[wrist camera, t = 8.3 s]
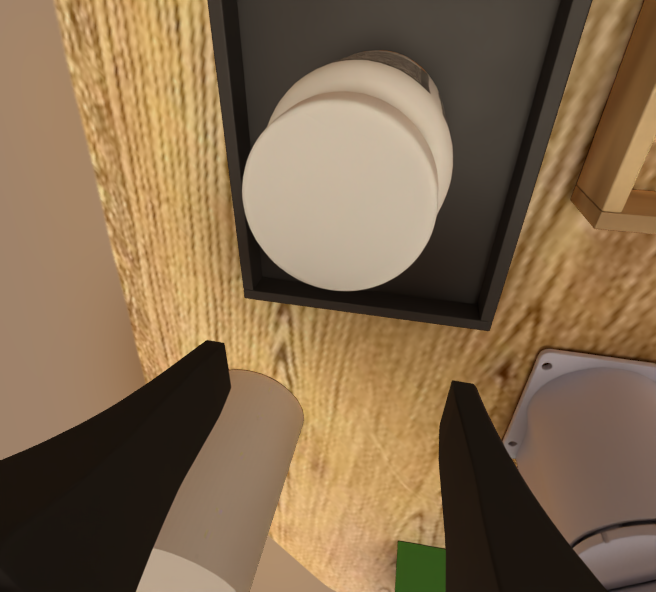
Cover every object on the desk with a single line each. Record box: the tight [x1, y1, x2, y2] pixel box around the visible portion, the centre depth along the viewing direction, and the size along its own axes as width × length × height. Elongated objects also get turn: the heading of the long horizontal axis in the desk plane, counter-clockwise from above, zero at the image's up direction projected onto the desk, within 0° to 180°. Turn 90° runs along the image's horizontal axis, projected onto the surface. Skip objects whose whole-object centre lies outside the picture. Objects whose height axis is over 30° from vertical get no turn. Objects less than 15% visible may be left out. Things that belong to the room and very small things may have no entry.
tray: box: [207, 0, 592, 331], centre depth 17 cm, size 17×13×2 cm
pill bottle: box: [242, 50, 453, 291], centre depth 13 cm, size 6×6×10 cm
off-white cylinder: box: [136, 370, 304, 592], centre depth 26 cm, size 8×8×12 cm
